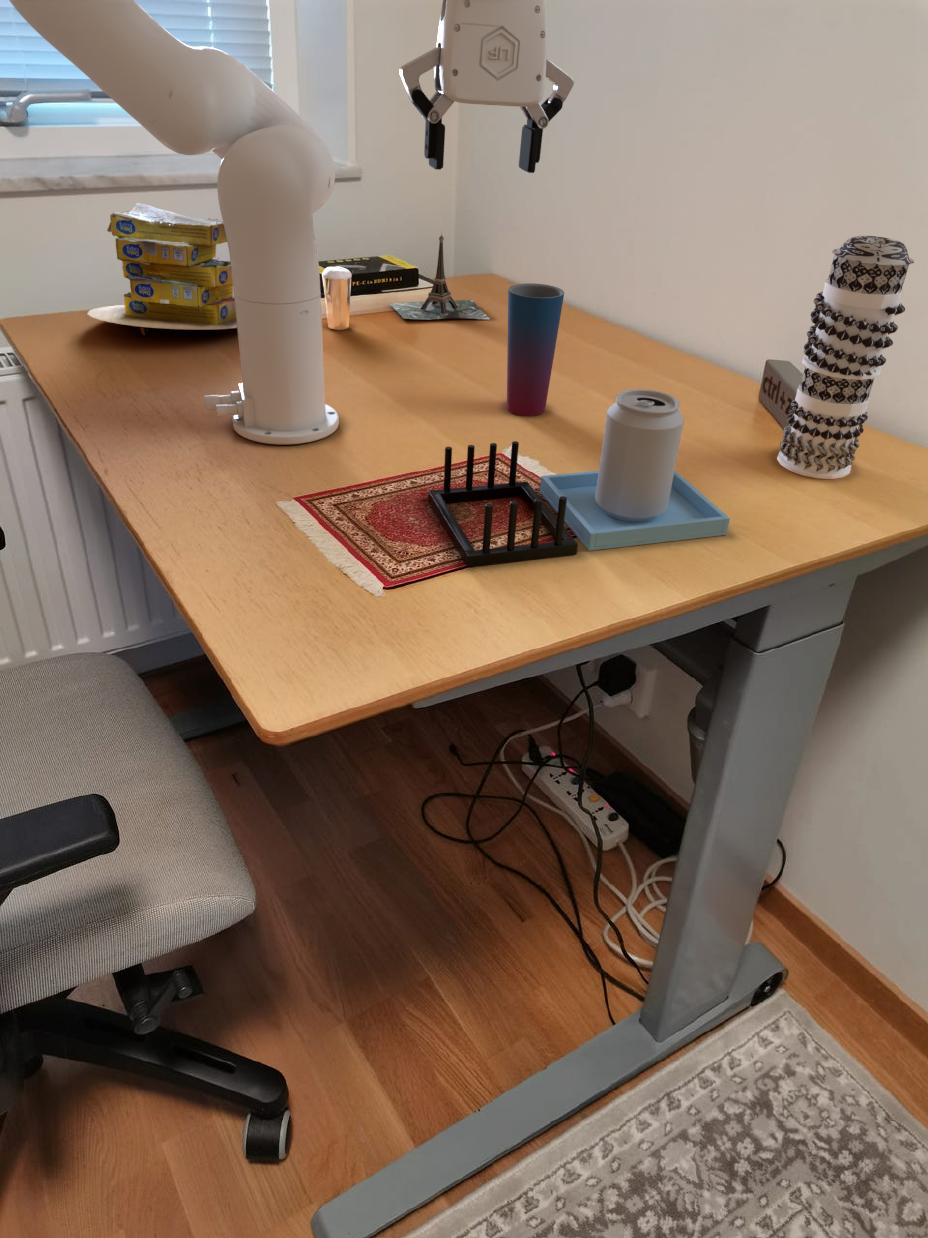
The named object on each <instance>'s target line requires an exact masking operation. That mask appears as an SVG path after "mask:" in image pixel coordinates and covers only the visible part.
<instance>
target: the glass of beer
mask: <svg viewBox="0 0 928 1238" xmlns="http://www.w3.org/2000/svg"><path fill="white" fill-rule="evenodd" d="M356 265H357V262H356V261H355V264H354V268H353V270H352V272H351V271H350V270H349V269H348V268H345V267H342V266H340V265H339V266H327V267H326V268H325V269H324V270H323V271H322V273H321V278H322V287H323V293H324V302H325V311H326V319H327V327H328V329H331V330H335V331H336V330H337V331H342V330H343V331H344V330H346V329H349V328H350V309H351V307H350V306H351V290H352V278H353V277H352V275H353V273H354V270H355V267H356Z"/></svg>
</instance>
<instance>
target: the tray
mask: <svg viewBox="0 0 928 1238" xmlns="http://www.w3.org/2000/svg"><path fill="white" fill-rule="evenodd" d="M598 473H599V470H590V471H582V472H571V473H560V474H559V473H558V474H548V475H541V476H540V485H539V493H540V494H541V495H542V497H543V498H544V499H545V500H546V502H547V503H548V504H549V505H550V506H551V507H552V509H553V510H554V511H555V513H556V514H558V506H559V498H560V497H561V496H565V497H567V503H566V511H565V519H564V524H566V525H567V527H568V528H569V529H570V530H571V532H572V533H573V534H574V535H575V536H576V538H577V539H578V540H579V541H580V543H581V544H582V545H583V546H584V547H585V549H587V551H588V552H591V551H600V550H610V549H616V548H626V547H634V546H643V545H651V544H660V543H669V542H677V541H685V540H686V541H687V540H694V539H695V540H696V539H702V538H711V537H721V536H727V535H728V529H729V525H730V522H731V521H730V520H731V517H729V516H728V515H727V514H726V513H725V512H724V511H722V510H721V509H720V508H719V507H718V506H717V505H715V504H714V503H713V502H712V501H711V500H710V499H709V498H707V497H706V496H705V495H704V494H703V493H702V492H701V491H699V490H698V489H697V488H696V487H695V486H694V485H693V484H691V482H689V481H688V480H687V479H686V478H685V477H683V476H682V475H681V474H680V473H679V472H678V471H677V470H675V471H674V476H673V481H672V486H671V491H670V497H669V502H668V507H667V509H666V511H665V512H663V513H662V514H660V515H658V516H657V517H655V518H654V519H652V520H649V521H645V522H628V521H623V520H619V519H616V518H613V517H611V516H609V515H608V514H606V513H605V512H604V511H603V509H602V508H601V507H600V506H599V505H598V503H597V502H596V500H595V494H596V487H597V480H598Z"/></svg>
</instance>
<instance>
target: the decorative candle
mask: <svg viewBox="0 0 928 1238" xmlns="http://www.w3.org/2000/svg"><path fill="white" fill-rule="evenodd" d="M831 253H832V254H833V259H832V263H831V267H830V270H829V274H828V278H826V279H825V282H824V286H823V290H822V291H820V292H818V293H817V294H816V296H815V297H814V299H813V303H814V307H815V308H814V309H813V310H812V311H811V312H810V317H811V318H810V321H811V323H813V325H811V326H810V327H809V330H808V331H806V336H807V337H808V338H807V343H804V346H803V349H804V350H803V353H804V355H803V357H802V360H801V364H803V366H804V370H803V374H802V377H801V382H800V383H799V385H798V387H797V390H796V394H795V398H794V399H792V401H791V402H790V406H789V408H790V410H791V412H790V413H788V414H787V419H786V422H787V423H788V425H786V426H785V427H784V428H783V431H782V437H783V439H782V440H781V441H780V443H779V451H778V455H777V457H776V460H777V461H778V463H779V464H780V466H782V467H783V468H785V469H786V470H787V471H790V472H792V473H795V474H798V475H800V476H804V477H809V478H813V479H821V480H822V479H823V480H835V479H841V478H843V479H844V478H845V477H846V476H848V475H850V473H851V469H852V464H853V461H855V460H856V456H855V453H856V452H857V449H858V448H859V447H860V442H859V441H860V439H859V437H860V436H861V434H863V433H864V430H865V429H864V426H863V424H864V423H865V422H866V421H867V420H868V419H869V418H868V417H869V416H868V411H867V409H868V406H869V403H870V400H871V396H870V393H871V391H872V388H873V385H874V380H875V378H878V377H880V376H881V373H882V366H884V365H885V364H886V362H887V359H886V358H885V356H883V354H882V351H883V350H885V349H886V348H887V349H888V348H890V347H892V346H893V345H894V341H893V340H892V338H890V335H892V334H894V333H896V332H897V331H898V329H899V326H898V325H897V323H895V321H894V320H893V321H892V318H893V316H898V315H900V314H903V313H905V311H906V308H905V306H904V305H903V304H902V302H901V299H902V295H903V292H904V289H903V286H904V283H905V280H906V277H907V273H908V270H909V267H910V265H912V264H915V259H913V258H912V257H910V256H909V252H908V248H907V246H906V244H904V243H903V242H902V241H900V240H897V239H893V238H888V237H885V236H876V235H875V236H874V235H856V236H851V237H849V238H847V239H846V240H845V241H844V242H843V244H842V245H841V246H840V247H839V248H835V249H833V250H832V252H831Z"/></svg>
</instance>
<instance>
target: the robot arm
mask: <svg viewBox="0 0 928 1238" xmlns="http://www.w3.org/2000/svg"><path fill="white" fill-rule="evenodd" d="M8 1H9V2H10V3H11V5H12V6H13V7H14V9H15V10H16V12H18V14H19V15H20V16H21V17H22V18H23V19H24V20H25V21H26V23H27V24H28V25H29V26H30V27H31V28H32V29H34V31H35V32H36V33H38V34H39V35H40V36H41V37H42V38H43V39H44V40H45V41H46V42H47V43H49V45H51V46H52V47H53V48H54V49H55V50H57V52H58V53H60V54H61V55H62V56H63V57H65V58H66V59H67V60H68V61H69V62H71V63H72V64H73V65H74V66H75V67H76V68H77V69H79V71H81V72H82V73H83V74H84V75H85V76H86V77H87V78H89V79H90V80H91V81H92V82H93V83H94V84H95V85H96V86H97V87H98V88H99V89H100V90H101V91H102V92H103V93H105V95H106V96H108V97H109V98H110V99H111V100H113V101H114V102H115V103H116V105H118V106H119V107H120V108H121V109H123V110H124V111H125V112H126V113H127V114H128V115H129V116H131V118H132V119H134V120H135V121H136V122H137V123H138V124H139V125H140V126H141V127H143V129H145V130H146V131H147V132H148V133H149V134H151V135H152V137H154V138H155V139H156V140H157V141H158V142H159V143H161V144H162V145H163V146H164V147H166V148H167V149H169V150H171V151H172V152H174V153H177V154H180V155H184V156H197V155H203V154H207V153H210V152H213V153H214V154H215V155H216V156H218V157H219V159H221V162H220V164H219V168H218V174H217V183H216V184H217V185H216V186H217V187H216V188H217V199H218V205H219V206H218V207H219V211H220V214H221V219H222V221H223V224H224V228H225V232H226V237H227V242H226V243H227V248H228V255H229V260H230V262H231V271H232V280H233V297H235V308H236V319H237V328H236V329H237V340H238V350H239V351H238V352H239V361H240V372H241V383H240V382H239V383H238V384H237V386H238V390H233V391H232V390H231V391H230V394H207V395H206V394H204V395H203V403H204V404H203V405H204V410H205V413H207V412H208V413H211V412H216V417H217V418H221V417H229V416H232V427H233V430H234V432H236V433H237V434H238V435H239V436H241V437H243V438H244V439H247V440H249V441H253V442H257V443H260V444H268V445H278V446H279V445H282V446H283V445H287V446H288V445H289V446H290V445H301V444H307V443H312V442H316V441H318V440H322V439H325V438H326V437H329V436H331V435H332V434H333V433H334V432H336V430H338V427H339V425H340V421H339V420H340V418H339V414H338V412H337V410H336V409H334V408H333V407H332V406H331V405H328V404H326V390H325V389H326V387H325V369H324V368H325V365H324V364H325V363H324V342H323V339H324V338H323V317H322V293H321V276H320V274H321V273H320V264H319V263H320V262H319V254H318V247H317V241H316V235H315V229H314V219H313V218H314V217H313V214H314V213H315V212H317V211H319V210H320V209H321V208H322V207H323V206H324V205H325V204H326V203H327V202H328V200H329V198H330V196H331V195H332V192H333V190H334V186H335V181H336V167H335V162H334V159H333V155H332V153H331V150H330V149H329V147H328V145H327V144H326V142H325V141H324V139H323V138H322V136H321V135H320V133H318V132H317V131H316V130H315V129H314V128H313V127H312V125H310V124H309V123H308V122H307V121H306V120H304V118H303V117H302V116H301V115H299V114H298V113H297V112H296V111H295V110H294V109H293V108H292V107H291V106H290V105H289V104H288V103H287V102H286V101H284V100H283V99H282V98H281V97H280V96H279V95H278V94H277V92H275V91H274V90H273V89H272V88H270V87H269V86H268V85H267V84H266V83H265V82H264V81H263V80H262V79H261V78H260V77H259V76H257V75H256V73H254V72H253V71H252V70H251V69H250V68H248V66H246V65H245V64H244V63H243V62H241V61H240V60H238V58H235V56H233V55H231V54H230V53H228V52H225V51H223V50H221V49H217V48H214V47H210V46H190V45H187V44H185V43H184V42H182V41H181V40H180V39H178V38H176V37H175V36H174V35H173V34H171V33H170V32H169V31H168V30H167V29H166V28H164V27H163V26H162V24H160V23H159V22H157V21H156V20H155V19H154V18H153V17H152V16H151V15H150V14H149V13H148V12H147V11H146V10H144V8H143V7H142V6H141V5H140V4H139V3H138V2H137V1H136V0H8ZM547 1H548V0H442V3H441V9H440V15H439V23H438V29H437V30H438V31H437V40H436V46H435V48H432V49H430V50H428V51H427V52H425V53H423V54H422V55H420V56H418V57H416V58H414V59H412V60H410V61H409V62H407V63H405V64H403V65H401V66H400V68H399V76H400V78H401V80H402V83H403V85H404V88H405V91H406V93H407V95H408V99H409V101H410V102H411V104H412V105H413V106H414V107H415V108H416V110H417V111H418V113H420V115H421V117H422V119H424V120H425V125H424V126H425V127H424V152H423V153H424V158H425V159H426V160H428V165H429V167H431V168H432V169H434V170H442V169H443V168H444V159H445V157H444V156H445V139H446V125H445V124H444V123H443V117H444V115H445V114H447V112H448V111H449V109H450V108H451V107H452V105H453V104H454V103H459V104H469V105H482V106H483V105H484V106H502V107H519V108H520V110H521V111H522V113H523V115H524V117H525V118H526V124H523V126H522V128H521V136H520V146H519V147H520V148H519V157H518V167H519V168H520V169H521V170H523V171H524V172H526V173H527V174H528V173H529V174H534V173H535V172H536V165H537V164H539V162H540V160H541V153H542V143H543V142H542V141H543V134H544V133H543V132H544V129H546V128H547V127H548V126H549V123H550V122H551V120H552V119H553V118H554V117H555V116H557V114H558V113H559V112H560V111H561V110H562V109H563V105H564V102H565V101H566V100H567V98H568V96H569V94H570V93H571V90H572V89H573V87H574V85H575V81H574V78H573V77H571V76H570V75H569V74H568V73H567V72H565V71H564V70H563V69H561V68H560V67H559V66H558V65H556V64H555V63H553V61H551V60H550V59H549V58H548V2H547ZM431 70H433V71H434V75H433V82H434V89H435V92H434V94H433V95H432V96H431V97H430V99H429V98H428V97H427V95H426V94H425V92H423V90H422V87H421V84H420V77H421V76H422V75H423V74H425V73H427V72H429V71H431ZM546 79H547V80H548V81H550V82H551V83H552V85H553V88H552V91H551V93H550V95H549V97H547V98H546V99H545V100H544V101H543V103H540V102H541V101H542V100H543V97H544V93H545V88H546V87H545V86H546Z"/></svg>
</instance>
